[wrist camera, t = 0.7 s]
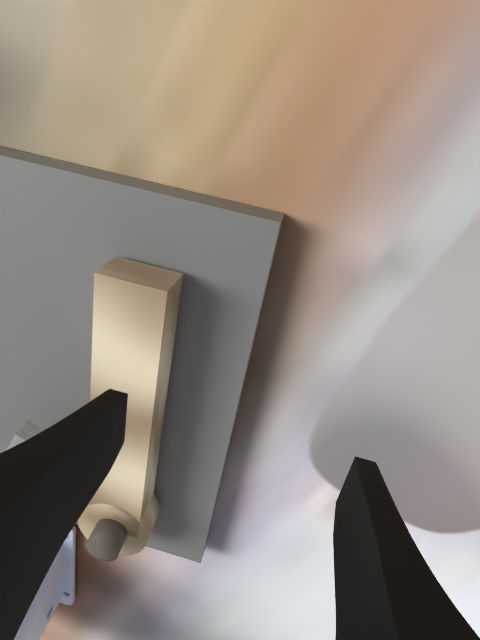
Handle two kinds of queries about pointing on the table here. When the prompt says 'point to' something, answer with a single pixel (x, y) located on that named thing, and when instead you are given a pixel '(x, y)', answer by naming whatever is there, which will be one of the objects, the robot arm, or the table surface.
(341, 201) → the table surface
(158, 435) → the link
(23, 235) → the board
